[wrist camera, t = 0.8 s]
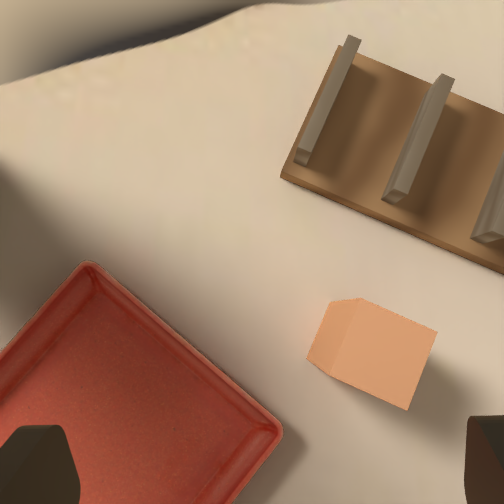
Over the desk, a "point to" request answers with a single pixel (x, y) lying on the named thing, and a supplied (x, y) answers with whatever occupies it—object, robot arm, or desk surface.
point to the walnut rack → (405, 155)
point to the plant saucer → (131, 399)
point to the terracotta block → (372, 349)
